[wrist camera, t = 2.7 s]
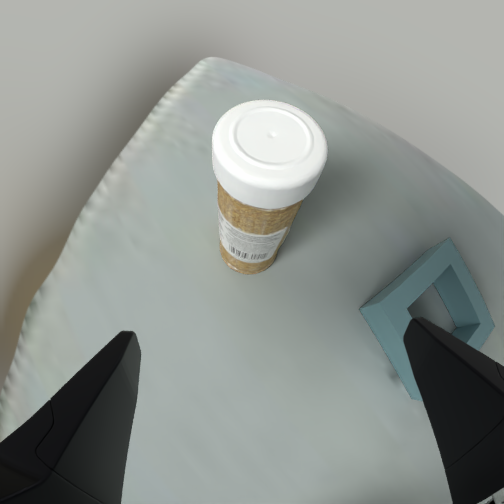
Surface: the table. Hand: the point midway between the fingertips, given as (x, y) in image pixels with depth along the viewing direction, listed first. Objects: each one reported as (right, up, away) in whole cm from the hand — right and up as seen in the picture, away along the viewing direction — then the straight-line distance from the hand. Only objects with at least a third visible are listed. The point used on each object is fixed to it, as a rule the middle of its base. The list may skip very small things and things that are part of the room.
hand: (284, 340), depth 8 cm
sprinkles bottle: (-1, +3, +15) cm, 15 cm away
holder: (+15, -4, +14) cm, 20 cm away
